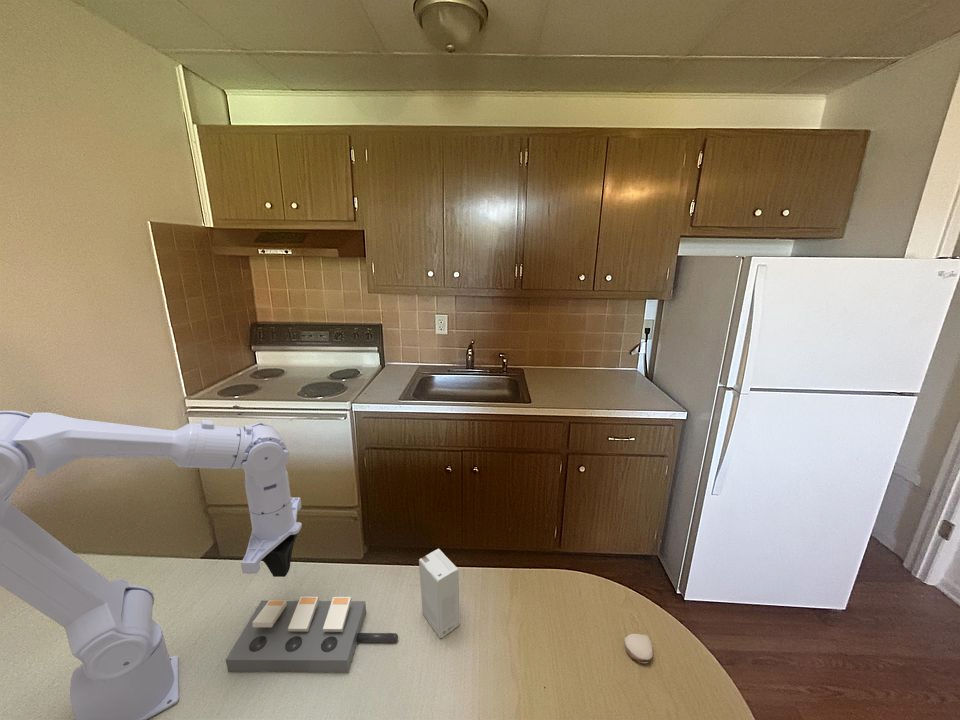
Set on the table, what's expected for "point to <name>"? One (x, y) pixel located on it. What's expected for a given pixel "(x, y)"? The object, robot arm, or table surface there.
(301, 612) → the rocker
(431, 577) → the skincare box
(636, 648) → the white rounded oval piece
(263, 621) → the white rectangular block
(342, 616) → the rocker
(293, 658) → the power strip
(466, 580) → the table surface
